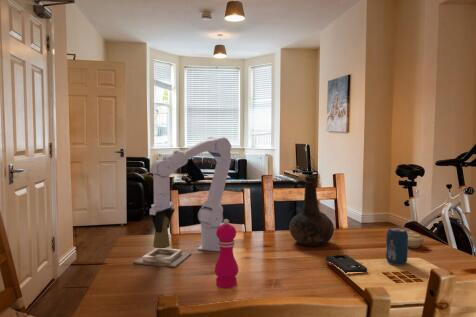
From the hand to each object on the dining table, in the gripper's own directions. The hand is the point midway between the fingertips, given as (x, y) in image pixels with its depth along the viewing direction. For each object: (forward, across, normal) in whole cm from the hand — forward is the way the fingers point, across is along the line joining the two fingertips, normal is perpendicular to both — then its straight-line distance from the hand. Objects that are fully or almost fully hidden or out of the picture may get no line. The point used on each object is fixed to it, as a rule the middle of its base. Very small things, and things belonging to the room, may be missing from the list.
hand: (162, 230), depth 136 cm
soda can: (+11, -19, +81) cm, 84 cm away
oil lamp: (+11, -43, +89) cm, 100 cm away
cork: (+6, 0, -1) cm, 6 cm away
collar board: (+10, +1, 0) cm, 10 cm away
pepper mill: (+11, +16, +30) cm, 35 cm away
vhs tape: (+11, -10, +64) cm, 66 cm away
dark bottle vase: (+11, -34, +50) cm, 61 cm away
